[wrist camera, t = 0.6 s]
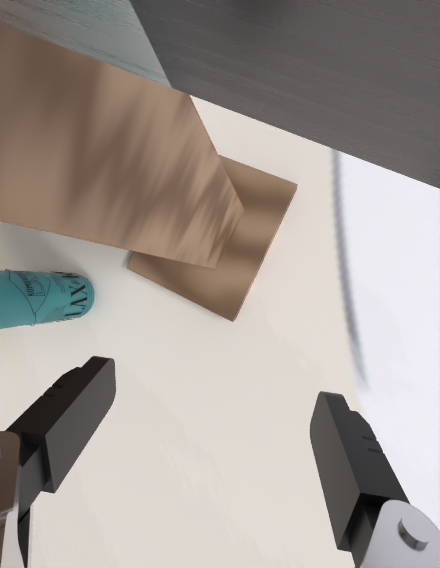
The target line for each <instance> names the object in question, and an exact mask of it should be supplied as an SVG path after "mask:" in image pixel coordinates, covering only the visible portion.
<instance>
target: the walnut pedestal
mask: <svg viewBox="0 0 440 568" xmlns="http://www.w3.org/2000/svg"><path fill="white" fill-rule="evenodd" d="M296 189H297V184H295V183H293V182H290V181H287V180H285V179H282V178H279V177H277V176H274V175H271V174H269V173H266V172H263V171H260V170H258V169H255V168H252V167H250V166H247V165H244V164H242V163H239V162H236V161H234V160H231V159H228V158H226V157H223V156H220V155H218V154H217V152H216V150H215V147H214V145H213V143H212V141H211V139H210V137H209V135H208V133H207V131H206V129H205V127H204V124H203V122H202V120H201V118H200V116H199V114H198V112H197V110H196V108H195V106H194V104H193V102H192V99H191V97H190V95H189V94H187V93H184V92H181V91H179V90H176V89H173V88H171V87H168V86H165V85H163V84H160V83H157V82H155V81H152V80H149V79H147V78H144V77H141V76H139V75H136V74H133V73H131V72H128V71H125V70H123V69H120V68H118V67H115V66H112V65H110V64H107V63H104V62H102V61H99V60H96V59H94V58H91V57H88V56H86V55H83V54H80V53H78V52H75V51H72V50H70V49H67V48H64V47H62V46H59V45H56V44H54V43H51V42H48V41H46V40H43V39H40V38H38V37H35V36H32V35H30V34H27V33H24V32H22V31H19V30H16V29H14V28H11V27H8V26H6V25H3V24H0V221H3V222H7V223H12V224H16V225H20V226H25V227H29V228H34V229H38V230H43V231H47V232H52V233H56V234H61V235H65V236H69V237H74V238H78V239H83V240H87V241H92V242H96V243H101V244H105V245H110V246H114V247H118V248H123V249H127V250H132V251H134V252H133V254H132V257H131V259H130V261H129V264H128V266H127V268H128V269H130V270H132V271H134V272H136V273H137V274H139V275H141V276H143V277H145V278H147V279H149V280H151V281H153V282H155V283H157V284H159V285H161V286H163V287H165V288H167V289H169V290H171V291H173V292H175V293H177V294H179V295H181V296H183V297H185V298H187V299H189V300H191V301H193V302H194V303H196V304H198V305H200V306H202V307H204V308H206V309H208V310H210V311H212V312H214V313H216V314H218V315H220V316H222V317H224V318H226V319H228V320H230V321H232V322H233V321H234V320H235V319H236V317H237V315H238V313H239V311H240V309H241V306H242V304H243V302H244V300H245V298H246V296H247V294H248V292H249V289H250V287H251V285H252V283H253V281H254V279H255V277H256V275H257V272H258V270H259V268H260V266H261V264H262V262H263V260H264V258H265V256H266V253H267V251H268V249H269V247H270V245H271V243H272V241H273V239H274V236H275V234H276V232H277V230H278V228H279V226H280V224H281V222H282V219H283V217H284V215H285V213H286V211H287V209H288V207H289V205H290V203H291V200H292V198H293V196H294V194H295V192H296Z"/></svg>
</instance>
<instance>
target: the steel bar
mask: <svg viewBox="0 0 440 568" xmlns="http://www.w3.org/2000/svg"><path fill="white" fill-rule="evenodd" d="M0 24H3V25H6V26H8V27H11V28H14V29H16V30H19V31H22V32H24V33H27V34H30V35H32V36H35V37H38V38H40V39H43V40H46V41H48V42H51V43H54V44H56V45H59V46H62V47H64V48H67V49H70V50H72V51H75V52H78V53H80V54H83V55H86V56H88V57H91V58H94V59H96V60H99V61H102V62H104V63H107V64H110V65H112V66H115V67H118V68H120V69H123V70H125V71H128V72H131V73H133V74H136V75H139V76H141V77H144V78H147V79H149V80H152V81H155V82H157V83H160V84H163V85H165V86H168V87H171V88H173V89H176V90H179V91H181V92H184V93H187V94H189V95H192V96H195V97H197V98H200V99H203V100H205V101H208V102H211V103H213V104H216V105H219V106H221V107H224V108H227V109H229V110H232V111H235V112H237V113H240V114H243V115H245V116H248V117H251V118H253V119H256V120H259V121H261V122H264V123H267V124H269V125H272V126H275V127H277V128H280V129H283V130H285V131H288V132H291V133H293V134H296V135H299V136H301V137H304V138H306V139H309V140H312V141H314V142H317V143H320V144H322V145H325V146H328V147H330V148H333V149H336V150H338V151H341V152H344V153H346V154H349V155H352V156H354V157H357V158H360V159H362V160H365V161H368V162H370V163H373V164H376V165H378V166H381V167H384V168H386V169H389V170H392V171H394V172H397V173H400V174H402V175H405V176H408V177H410V178H413V179H416V180H418V181H421V182H424V183H426V184H429V185H432V186H434V187H437V188H440V0H0Z"/></svg>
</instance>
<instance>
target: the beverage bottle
mask: <svg viewBox="0 0 440 568" xmlns="http://www.w3.org/2000/svg"><path fill="white" fill-rule="evenodd" d="M25 271H26V270H25ZM25 271H9V270H7V269H6V270H5V271H0V329H2V328H9V327H16V326H22V325H31V324H34V325H35V324H37V325H38V324H39V323H43V324H44V323H45V322H51V321H56V322H58V321H57V320H62V321H65V319H68V320H71V319H70V318H74V319H75V318H77V317H78V318H79V317H80V316H82V315H85V314H86V313H87V312H88V311H89V310H90V309H91V307H92V305H93V302H94V290H93V287H92V285H91V283H90V282H89V281H88V280H87V279H86V278H84V277H83V276H80V275H76V274H75V273H74V274H72V273H70V274H66V273H65V274H62V273H61V272H56V273H42V272H29V271H28V272H27V271H26V272H25ZM60 273H61V274H60ZM31 326H32V325H31Z"/></svg>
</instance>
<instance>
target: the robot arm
mask: <svg viewBox="0 0 440 568" xmlns="http://www.w3.org/2000/svg"><path fill="white" fill-rule="evenodd" d="M115 393H116V380H115V362H114V359H111V358H105V357H98V356H93V357H91V358H90V359H89V360H88V361H87V362H86V363H85V364H84V365H83V366H82V368H80V367H76V368H74V369H72V370H70V371H69V372H67V373H65V374H63V375H62V376H61V377H60V378H59V379H58V380H57V381H56V382H55V383H54V384H53V385H52V387H50V388H49V389H48V390H47V391H46V392H45V393H44V394H43V396H40V397H39V398H38V399H37V400H36V401H35V402H34V403H33V404H32V405H31V406H30V407H29V408H28V409H27V410H26V411H25V412H24V413H23V414H22V415H21V416H20V417H19V418H18V419H17V420H16V421H15V422H14V423H13V424H12V425H11V426H10V427H8V428H7V429H6V430H5V431H0V568H31V552H32V527H33V502H34V500H35V499H36V497H37V496H38V495H39V493H40V492H41V491H44V492H49V493H54V494H55V492H56V490H57V489H58V487H59V486H60V484H61V483H62V481H63V480H64V478H65V477H66V475H67V474H68V472H69V470H70V469H71V467H72V466H73V464H74V463H75V461H76V460H77V458H78V457H79V455H80V454H81V452H82V450H83V449H84V447H85V446H86V444H87V443H88V441H89V440H90V438H91V437H92V435H93V434H94V432H95V430H96V429H97V427H98V426H99V424H100V423H101V421H102V420H103V418H104V417H105V415H106V414H107V412H108V410H109V409H110V407H111V406H112V404H113V401H114V398H115ZM310 439H311V444H312V448H313V452H314V456H315V460H316V464H317V468H318V472H319V477H320V481H321V485H322V489H323V493H324V497H325V501H326V505H327V509H328V513H329V517H330V522H331V526H332V530H333V534H334V538H335V542H336V546H337V549H338V550H343V551H348V552H351V553H352V556H353V560H354V563H355V567H354V568H440V531H439V529H438V528H437V527H436V525H435V524H434V523H433V522H432V521H431V520H430V519H429V518H428V517H427V516H426V515H425V514H424V513H422V512H421V511H420V510H418V509H417V508H415V507H414V506H412V505H411V504H410V503H409V501H408V499H407V497H406V495H405V493H404V491H403V489H402V487H401V485H400V483H399V481H398V479H397V477H396V476H395V474H394V472H393V470H392V468H391V466H390V464H389V462H388V460H387V458H386V456H385V454H383V450H382V448H381V446H380V444H379V442H378V441H376V437H375V435H374V433H373V431H372V429H371V427H370V425H369V424H368V423H367V422H366V420H365V419H364V418H363V417H362V416H361V415H360V414H359V413H358V412H356V411H350V409H349V407H348V405H347V403H346V400H345V398H344V396H343V395H341V394H336V393H329V392H323V391H321V392H320V393H319V394H318V398H317V401H316V405H315V408H314V412H313V416H312V419H311V423H310Z"/></svg>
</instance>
